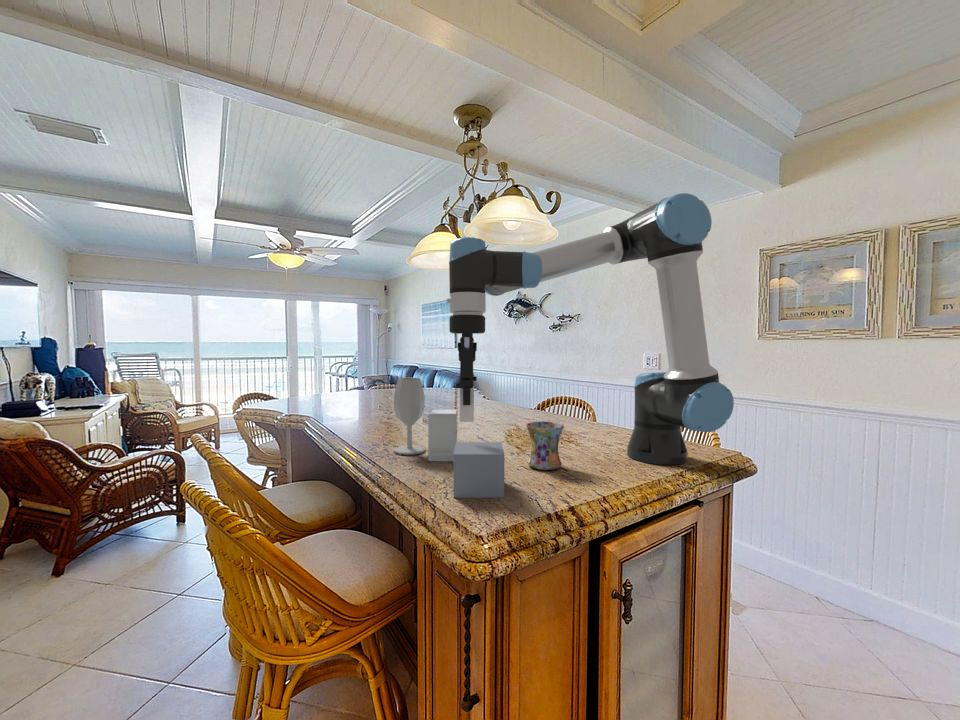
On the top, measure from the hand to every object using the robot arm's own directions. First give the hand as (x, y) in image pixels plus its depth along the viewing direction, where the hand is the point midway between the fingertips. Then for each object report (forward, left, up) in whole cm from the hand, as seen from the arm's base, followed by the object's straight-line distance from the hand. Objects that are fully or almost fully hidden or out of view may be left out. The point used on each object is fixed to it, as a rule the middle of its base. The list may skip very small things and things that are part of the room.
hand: (467, 415), depth 88 cm
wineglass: (+17, -30, -16) cm, 38 cm away
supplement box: (+7, -24, -16) cm, 30 cm away
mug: (-19, -17, -16) cm, 30 cm away
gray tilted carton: (-2, 0, -16) cm, 16 cm away
